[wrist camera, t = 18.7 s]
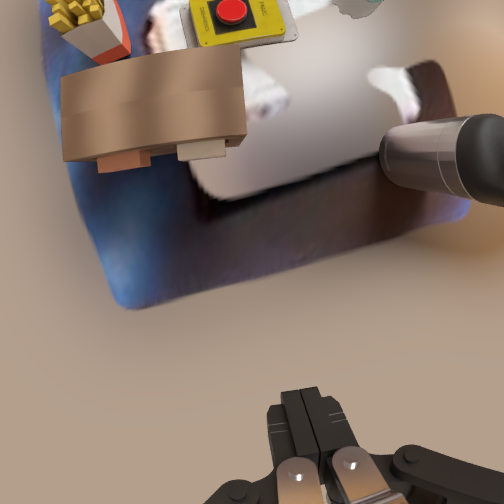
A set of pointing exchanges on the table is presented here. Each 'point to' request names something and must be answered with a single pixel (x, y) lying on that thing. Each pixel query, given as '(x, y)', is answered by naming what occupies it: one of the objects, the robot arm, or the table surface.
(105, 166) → the terracotta key
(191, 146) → the ivory key
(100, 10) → the french fries container
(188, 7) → the emergency button
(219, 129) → the key panel
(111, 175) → the table surface
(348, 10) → the bottle
